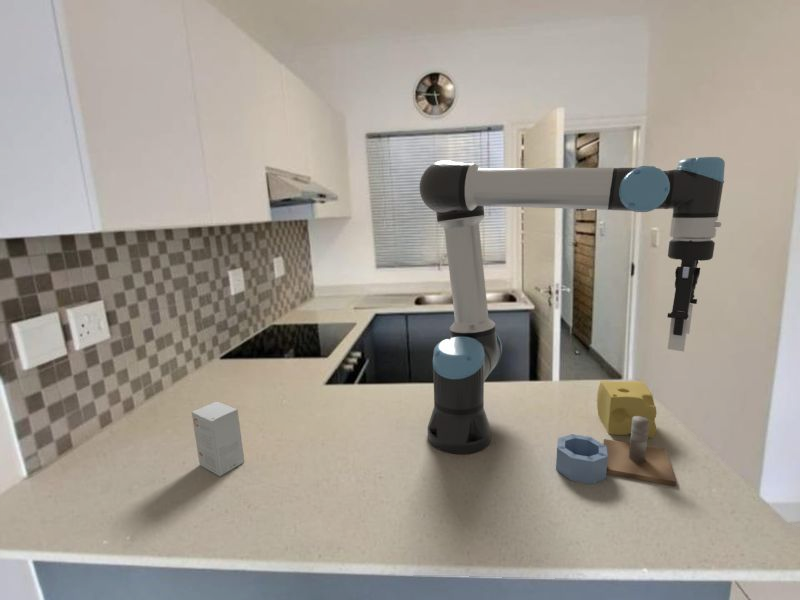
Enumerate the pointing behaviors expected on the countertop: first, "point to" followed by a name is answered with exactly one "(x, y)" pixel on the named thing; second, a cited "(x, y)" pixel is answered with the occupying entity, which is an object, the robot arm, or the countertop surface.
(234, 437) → the small box
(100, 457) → the countertop surface
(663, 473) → the post
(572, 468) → the ring
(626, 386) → the cheese
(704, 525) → the countertop surface
